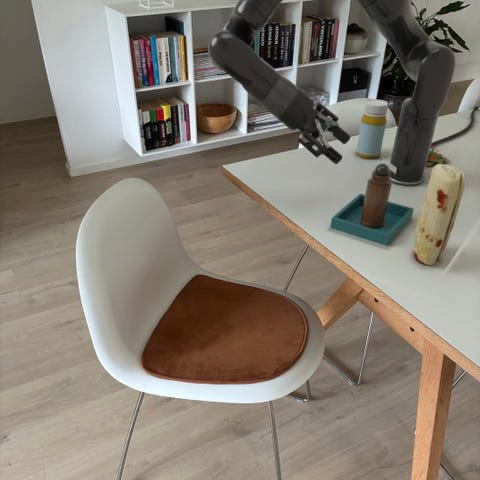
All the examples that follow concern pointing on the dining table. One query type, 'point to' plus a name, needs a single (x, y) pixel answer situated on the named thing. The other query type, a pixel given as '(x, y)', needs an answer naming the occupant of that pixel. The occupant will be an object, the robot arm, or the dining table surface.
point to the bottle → (372, 129)
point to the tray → (350, 224)
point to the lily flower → (435, 157)
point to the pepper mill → (376, 198)
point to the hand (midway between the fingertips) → (343, 150)
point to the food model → (438, 213)
